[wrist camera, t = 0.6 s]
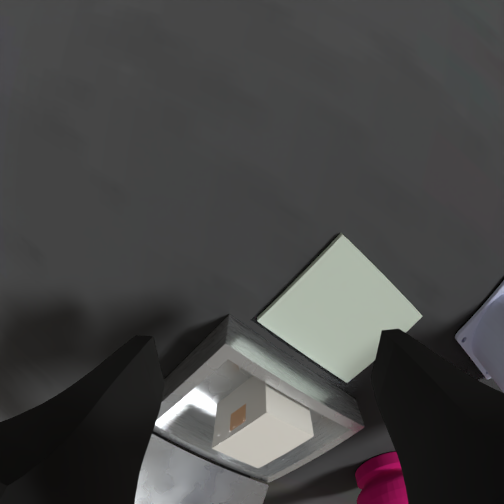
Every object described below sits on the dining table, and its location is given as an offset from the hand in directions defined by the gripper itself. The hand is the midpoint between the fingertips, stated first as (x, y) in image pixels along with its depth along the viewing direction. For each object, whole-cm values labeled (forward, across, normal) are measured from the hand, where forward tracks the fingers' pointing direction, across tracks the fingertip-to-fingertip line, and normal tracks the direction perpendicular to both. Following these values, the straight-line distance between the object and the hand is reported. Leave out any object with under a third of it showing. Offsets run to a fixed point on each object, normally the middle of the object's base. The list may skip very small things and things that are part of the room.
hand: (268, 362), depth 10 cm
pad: (+10, -5, +5) cm, 12 cm away
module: (+10, 0, +12) cm, 15 cm away
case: (+10, +1, +12) cm, 16 cm away
